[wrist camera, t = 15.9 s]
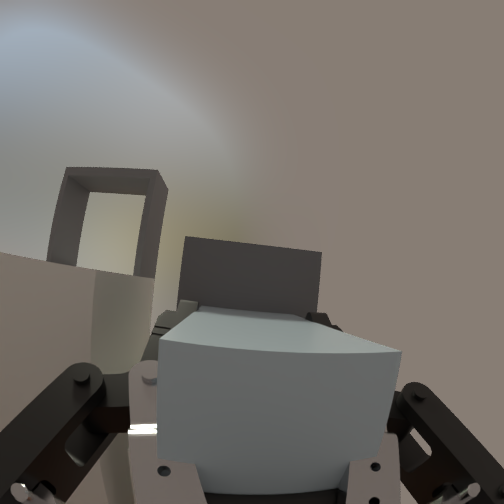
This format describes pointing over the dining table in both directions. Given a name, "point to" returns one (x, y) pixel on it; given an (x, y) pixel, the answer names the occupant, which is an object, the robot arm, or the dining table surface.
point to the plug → (266, 376)
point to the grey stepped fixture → (80, 313)
